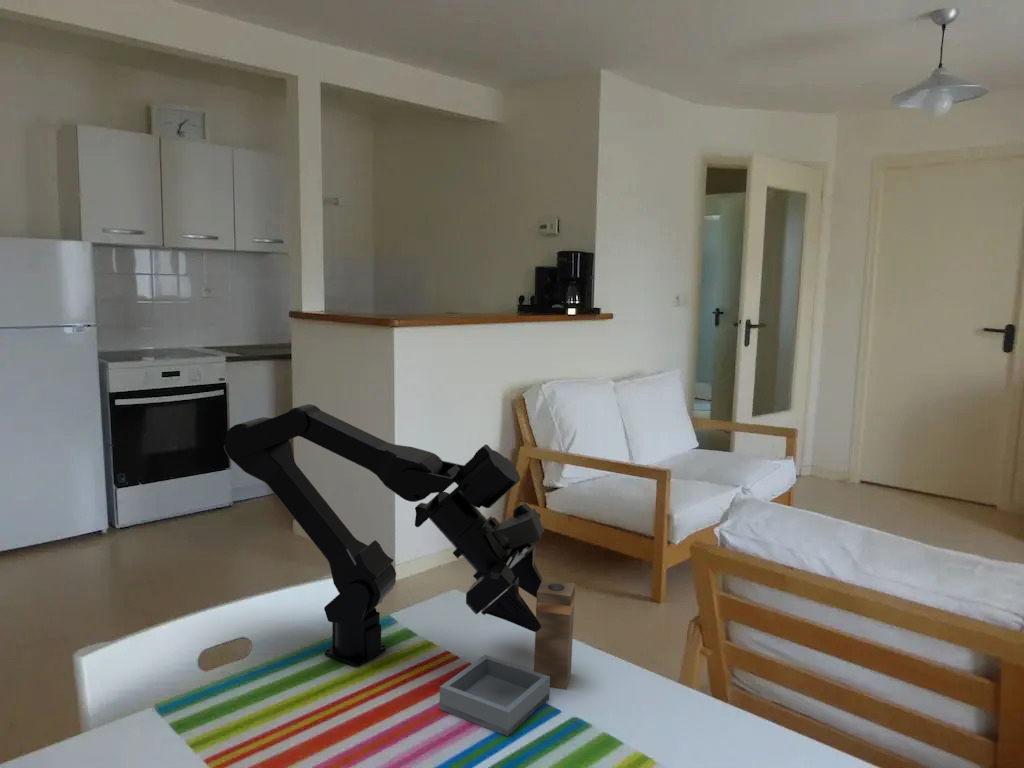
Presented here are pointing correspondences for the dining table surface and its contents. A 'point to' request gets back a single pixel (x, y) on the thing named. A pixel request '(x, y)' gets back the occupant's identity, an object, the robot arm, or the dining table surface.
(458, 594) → the dining table surface
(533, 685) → the tray
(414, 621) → the dining table surface
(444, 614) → the dining table surface
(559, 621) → the block
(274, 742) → the dining table surface
